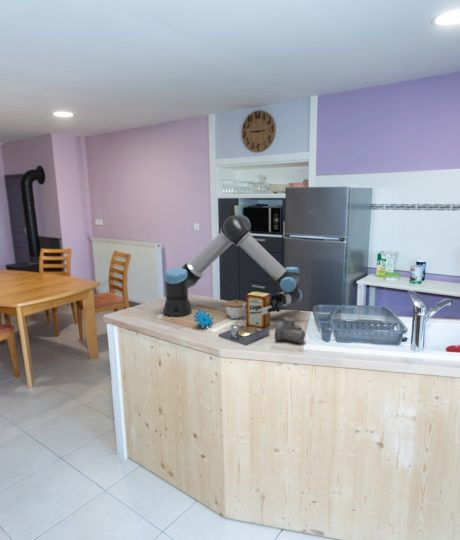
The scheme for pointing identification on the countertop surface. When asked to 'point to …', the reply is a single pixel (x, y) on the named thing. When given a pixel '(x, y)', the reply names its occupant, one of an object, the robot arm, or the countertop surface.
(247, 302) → the baking soda box
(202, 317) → the gear
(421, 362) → the countertop surface
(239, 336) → the carrier plate
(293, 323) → the pipe fitting
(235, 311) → the lidded jar
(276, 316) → the countertop surface
